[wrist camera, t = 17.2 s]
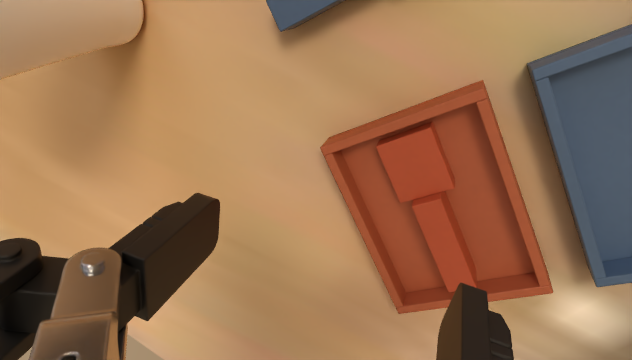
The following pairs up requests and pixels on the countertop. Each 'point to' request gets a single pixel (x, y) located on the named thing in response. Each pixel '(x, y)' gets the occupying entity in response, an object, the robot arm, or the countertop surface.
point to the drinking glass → (62, 30)
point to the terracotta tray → (466, 201)
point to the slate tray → (593, 144)
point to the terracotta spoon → (429, 198)
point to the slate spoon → (297, 11)
